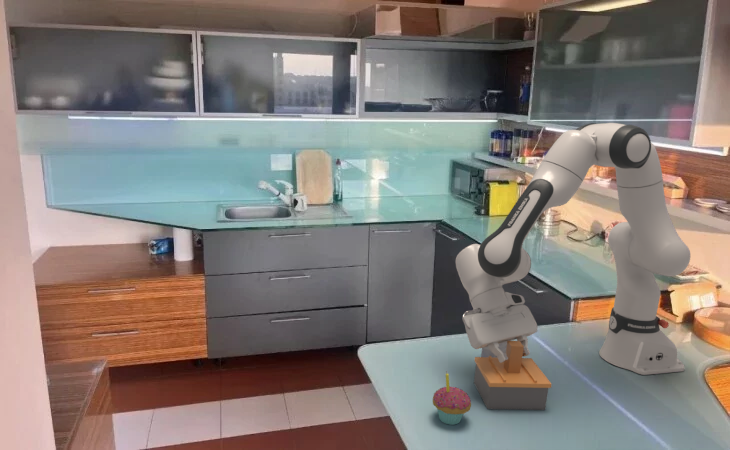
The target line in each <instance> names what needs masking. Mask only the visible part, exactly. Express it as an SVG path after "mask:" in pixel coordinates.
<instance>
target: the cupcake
mask: <svg viewBox="0 0 730 450" xmlns="http://www.w3.org/2000/svg"><path fill="white" fill-rule="evenodd" d="M449 376H450V375H449V373H448V371H447V370H446V371H445V384H446V385H445V386H444V387H440V388H439V389H437V390H436V391H435V392H434V393H433V396H432V405H433V406H434V407H435V408H436V410H437V413H438V414H437V415H438V418H439V420H440V421H441V422H442V423H444V424H447V425H449V426H451V425H452V426H453V425H457V424H459V423H460V422H461V420H462V418H463V416H464V414H466V413H467V412H469V411H471V407H472V401H471V397H470V396H469V394H468V393H467V392H466V391H464V390H463V389H462V388H459V387H454V386H450V377H449Z"/></svg>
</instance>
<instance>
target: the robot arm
mask: <svg viewBox="0 0 730 450" xmlns="http://www.w3.org/2000/svg"><path fill="white" fill-rule="evenodd" d="M592 166H597V167H598V166H599V167H604V168H609V167H610V168H614V169H615V179H616V180H615V181H616V188H617V197H618V205H619V211H620V213H621V215H622V217H623V218H624V219H625V220H626V221H621V222H618V223H617V224H615V225H614V226H613V227H612V228H611V229H610V231H609V233H608V237H607V242H608V243H607V244H608V246H609V249H610V250H611V251H612V254H613V258H614V263H615V269H616V290H615V295H614V303H613V307H612V308H611V310H610V315H609V321H608V330H607V334H606V337H605V339H604V342H603V344H602V346H601V348H600V349H599V352H598V353H599V354H598V355H599V356H600V357H601V358H602V359H603V360H604V361H606V362H607V363H609V364H612V365H614V366H616V367H619V368H621V369H625V370H629V371H631V372H634V373H636V374H639V375H642V376H646V375H647V376H648V375H657V374H666V373H668V374H669V373H677V372H678V373H679V372H684V371H685V365H684V363H683V361H681V360H680V359H679V358H678V349H677V348H678V347H677V346H676V344H675V343H674V342H673V341H672V339H670V338H669V337H668V336H667V335H666V334H665V332H664V331H662V330H661V328H660V327H662V328H663V329H668V327H669V325H670V323H669V321H666V320H665V319H661V318H660V317H659V316H657V314H658V313H657V312H658V308H659V303H660V298H661V289H660V286H659V284H658V283H657V281H656V280H657V279H656V277H655V275H660V276H665V277H676V276H679V275H681V274H682V273H683V272H684V271H685V270H686V269H687V268H688V267H689V264H690V262H691V251H690V248H689V246H688V245H687V244H686V243H685V242H684V241H683V240H682V238H681V237H680V235H679V233H678V232H677V230H676V228H675V225H674V223H673V222H672V221H673V220H672V219H671V216H670V214H669V211H668V207H667V203H666V197H665V188H664V180H663V179H664V178H663V172H662V165H661V161H660V157H659V155H658V151H657V149H656V145H655V144H654V143H653V142H652V141H651V138H650V135H649V134H648V133H647V131H646V130H645V129H644V128H642V127H639V126H638V125H634V124H623V123H617V122H607V123H606V122H605V123H596V122H594V123H593V122H592V123H591V122H590V123H586V124H583V125H580V126H578V127H577V128H576V129H569V130H566V131H564V132H563V133H562V134H561V135H560V136H559V137H558V138H557V140H555V142H554V143H553V144H552V145H551V147H550V148H549V149H548V151H547V152H546V154H545V156H544V157H543V159H542V160H541V163H540V164H539V166H538V167H537V169H536V171H535V173H534V174H533V176H532V177H531V180H530V181H529V183H528V185H527V186H526V188H524V189H525V190H523V192H522V194H521V195H520V196H519V198H518V199H517V200H516V202H515V204H514V206H513V207H512V208H511V210H509V212H508V214H507V216H506V217H505V219H504V220H503V221H502V223H501V224H500V226H499V227H498V228H497V229H496V230H495V231H494V232H492V233H490V235H488V236H487V237H486V238H485V239H483V241H482V242H481V244H478V243H473V244H469V245H468V246H465V247H463V249H461V250H460V251H459V252H458V254H457V255H456V258H455V268H456V271H457V274H458V276H459V279H460V281H461V283H462V286H463V288H464V290H466V292H467V294H468V297H469V302H470V303H471V306H472V308H473V309H472V310H466V311H464V313H463V315H462V316H461V317H462V322H463V325H464V327H465V332H466V335H467V338H468V342H469V343H470V346H471V347H472V348H473V349H474V350H478V349H482V348H483V347H487V346H488V347H489V349H490V351H491V352H492V353H493V354H495V355H496V356H497V357H498V360H499V362H500V363H502V362H505V361H507V360H508V357H507V354H506V353H503V352H502V351H501V350H500V349H499V348H498V347H499V343H503V342H507V341H520V342H521V344H522V345H523V346H524V348H523V355H522V358H524V357H526V356H529V355H530V354H531V352H530V350H529V347H528V345H529V343H528V342H529V341H528V337H531V336H532V335H534V334H535V333H537V332H538V327H539V325H538V324H537V322H536V319H535V317H534V315H533V313H532V312H531V309H530V308H529V307H528V306H527V305H525V302H526V300H525V297H524V296H523V295H520V294H517V293H516V294H515V293H511V292H508V291H505V289H504V288H503V285H507V284H512V283H515V282H518V281H521V280H523V279H525V277H526V276H527V275H528V274H529V273H530V271H531V267H532V260H531V257H530V255H529V252H527V250H525V249H524V248H523V245H524V241H525V239H526V238H527V236H528V235H529V233H530V232H531V231H532V229H533V227H534V226H535V224H536V222H537V221H538V220H539V218H540V217H541V216H542V214H543V213H544V212H545V211H547V210H548V209H551V208H555V207H560V206H564V205H566V204H567V203H569V201H571V199H572V198H573V196H574V195H575V194H576V193H577V192H578V191H579V188H580V187H581V186H582V184H583V181H584V180H585V178H586V176H587V175H588V172H589V170H590V169H591V168H592Z"/></svg>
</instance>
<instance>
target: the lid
mask: <svg viewBox="0 0 730 450" xmlns="http://www.w3.org/2000/svg"><path fill="white" fill-rule="evenodd" d="M523 348H524V346H523V345H522V344H521V342H520V341H517V340H511V341H507V347H506V354H507V357H508V360H507V361H505V362H502V363H500V362H499V360H498V358H496V357H491V356H489V357H481V356H475V357H474V362H475V365H476V364H477V366H478V368H479V369H480V371H481V373H482V375H483V376H484V378H485V380H486V382H487V383H488V385H489V387H527V388H548V389H551V388H552V385H553V384H552V383H551V381H550V380H549V379H548V377H547V376H546V375H545V374H544V373H543V371H542V370H541V369H540V368H539V365H537V363H536V361H534V360H533V358H532V357H530V358H529V357H522V355H523Z"/></svg>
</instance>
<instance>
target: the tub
mask: <svg viewBox="0 0 730 450" xmlns="http://www.w3.org/2000/svg"><path fill="white" fill-rule="evenodd" d="M473 379H474V380H473V384H474V386H475V388H476V390H477V392H478V393H479V396H480V398H481V399H482V402H483V403H484V405H485V406H486V409H487V410H524V411H525V410H529V411H530V410H531V411H532V410H534V411H535V410H536V411H539V410H540V411H541V410H543V411H545V410H546V406H547V401H548V395H549V394H548V393H549V388H527V387H489V385H488V383H487V382H486V380H485V378H484V376H483V375H482V373H481V371H480V369H479V368H478V366H477V364H476V363H475V369H474V378H473Z"/></svg>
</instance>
